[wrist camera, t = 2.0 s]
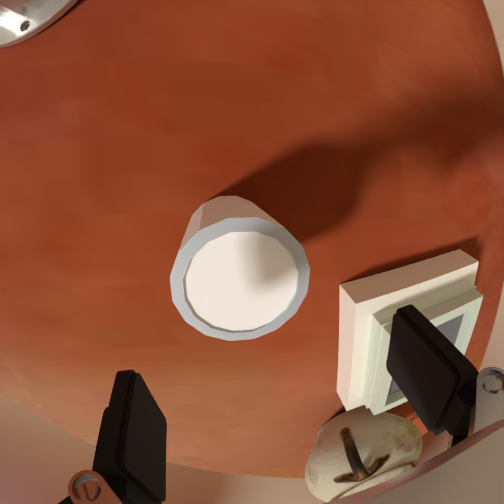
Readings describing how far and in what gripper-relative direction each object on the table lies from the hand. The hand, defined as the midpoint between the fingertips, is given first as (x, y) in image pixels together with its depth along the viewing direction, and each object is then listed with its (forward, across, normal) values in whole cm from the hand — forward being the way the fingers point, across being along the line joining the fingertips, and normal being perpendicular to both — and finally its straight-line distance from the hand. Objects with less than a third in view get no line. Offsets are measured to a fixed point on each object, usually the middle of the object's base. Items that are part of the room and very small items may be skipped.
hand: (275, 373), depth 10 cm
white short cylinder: (+12, 0, -1) cm, 12 cm away
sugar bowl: (+13, -10, +28) cm, 32 cm away
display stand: (+13, -15, +12) cm, 23 cm away
